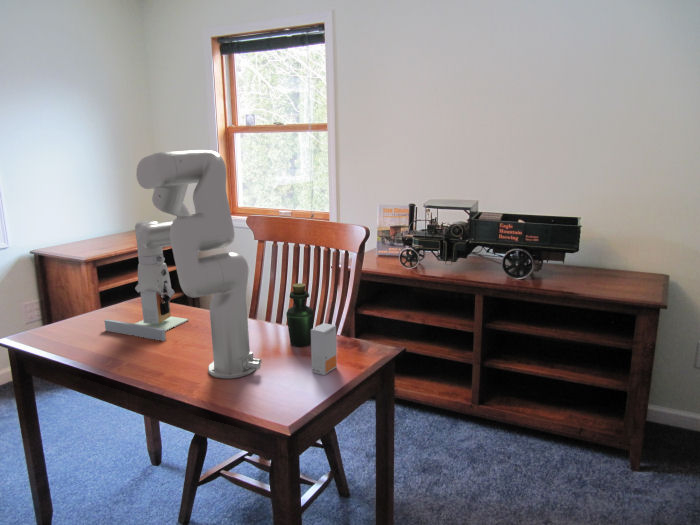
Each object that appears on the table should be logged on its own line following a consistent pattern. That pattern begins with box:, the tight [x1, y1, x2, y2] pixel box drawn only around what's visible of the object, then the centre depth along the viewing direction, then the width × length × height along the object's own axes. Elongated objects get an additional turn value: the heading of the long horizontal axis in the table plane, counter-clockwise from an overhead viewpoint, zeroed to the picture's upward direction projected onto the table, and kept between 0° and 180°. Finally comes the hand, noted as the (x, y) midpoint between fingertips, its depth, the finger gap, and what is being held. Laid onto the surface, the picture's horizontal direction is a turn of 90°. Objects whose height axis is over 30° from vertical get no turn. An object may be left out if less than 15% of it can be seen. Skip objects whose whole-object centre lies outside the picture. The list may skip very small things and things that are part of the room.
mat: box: [134, 315, 190, 332], centre depth 182 cm, size 14×14×1 cm
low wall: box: [103, 319, 167, 342], centre depth 173 cm, size 24×1×4 cm, turn 65°
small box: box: [140, 291, 172, 324], centre depth 181 cm, size 8×6×10 cm
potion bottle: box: [286, 282, 315, 348], centre depth 163 cm, size 8×8×18 cm
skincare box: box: [310, 322, 337, 376], centre depth 145 cm, size 6×4×12 cm
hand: (156, 312), depth 181 cm, fingers closed on small box, 6 cm apart
